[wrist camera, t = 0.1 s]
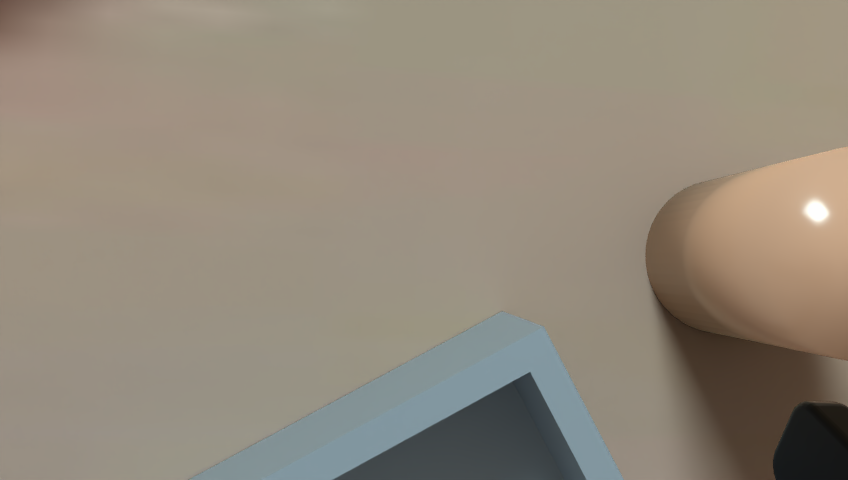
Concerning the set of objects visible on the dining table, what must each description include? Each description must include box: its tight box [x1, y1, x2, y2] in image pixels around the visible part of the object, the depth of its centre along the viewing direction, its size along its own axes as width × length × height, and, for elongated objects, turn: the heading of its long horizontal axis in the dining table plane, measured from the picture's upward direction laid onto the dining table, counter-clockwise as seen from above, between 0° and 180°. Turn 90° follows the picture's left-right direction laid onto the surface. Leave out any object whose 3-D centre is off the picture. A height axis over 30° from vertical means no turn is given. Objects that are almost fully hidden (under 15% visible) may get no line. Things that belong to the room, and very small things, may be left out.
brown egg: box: [646, 147, 848, 361], centre depth 20 cm, size 5×5×7 cm
